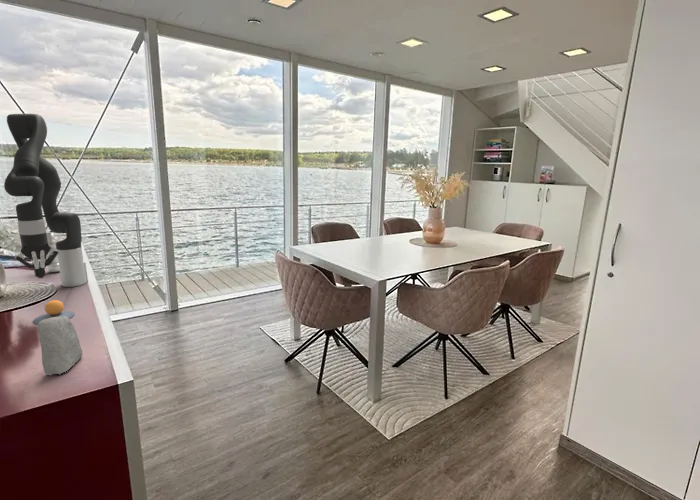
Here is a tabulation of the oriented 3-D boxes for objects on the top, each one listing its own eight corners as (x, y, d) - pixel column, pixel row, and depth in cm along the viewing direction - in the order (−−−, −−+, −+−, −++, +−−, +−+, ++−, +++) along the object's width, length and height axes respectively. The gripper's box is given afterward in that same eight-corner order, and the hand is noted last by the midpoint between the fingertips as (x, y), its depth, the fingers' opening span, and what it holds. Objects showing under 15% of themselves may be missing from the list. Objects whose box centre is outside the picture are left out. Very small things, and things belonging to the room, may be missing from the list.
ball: (59, 295, 138) (64, 307, 137) (62, 301, 143) (67, 313, 141) (41, 301, 135) (46, 314, 134) (44, 307, 139) (49, 319, 138)
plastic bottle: (66, 270, 193) (61, 232, 188) (52, 274, 186) (46, 235, 182) (58, 269, 195) (52, 231, 190) (44, 272, 188) (37, 234, 184)
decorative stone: (67, 356, 110) (59, 308, 107) (88, 355, 110) (81, 308, 107) (40, 376, 99) (31, 324, 96) (64, 376, 100) (55, 324, 96)
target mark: (54, 310, 142) (54, 309, 142) (82, 312, 141) (82, 312, 141) (23, 323, 131) (23, 322, 131) (54, 325, 129) (54, 325, 129)
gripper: (11, 236, 128) (20, 284, 132) (58, 231, 138) (65, 275, 142) (6, 233, 132) (15, 279, 136) (52, 228, 142) (59, 271, 146)
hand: (40, 277), depth 139 cm, fingers closed
